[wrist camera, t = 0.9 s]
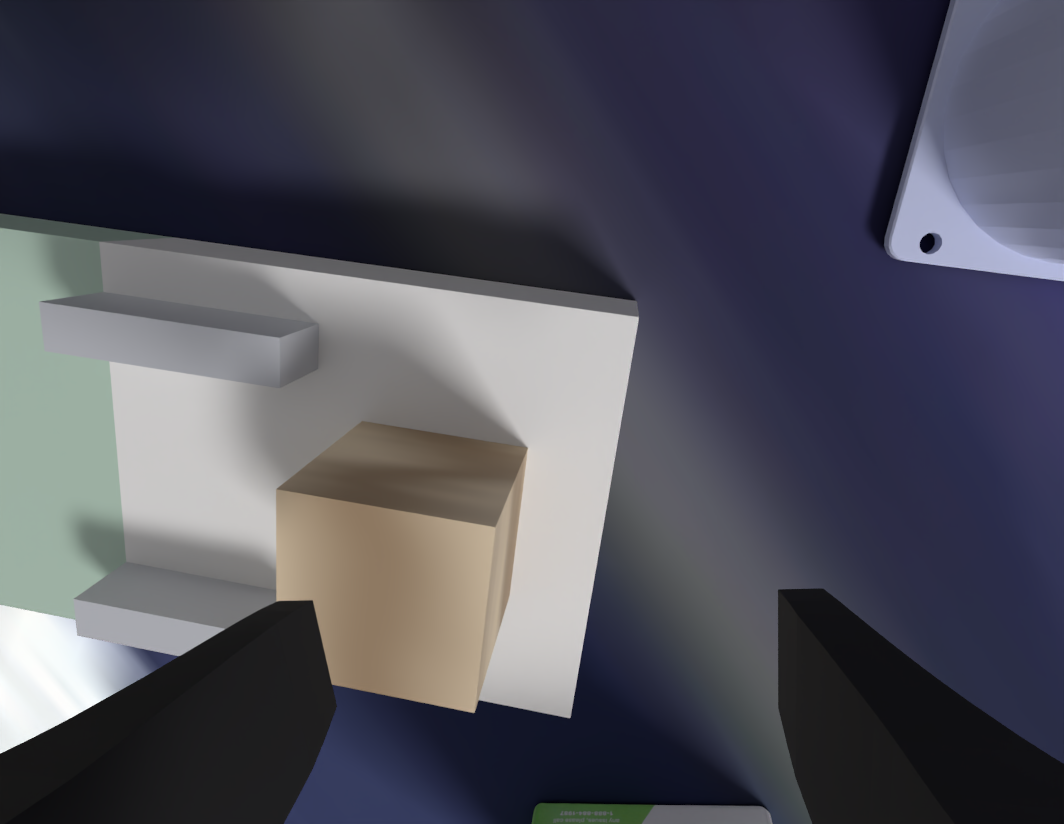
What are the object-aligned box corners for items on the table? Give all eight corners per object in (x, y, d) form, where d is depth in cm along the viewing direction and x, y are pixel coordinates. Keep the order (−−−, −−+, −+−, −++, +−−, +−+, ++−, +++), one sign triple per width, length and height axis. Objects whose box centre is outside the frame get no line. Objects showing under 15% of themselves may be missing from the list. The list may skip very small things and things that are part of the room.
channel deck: (636, 301, 18) (641, 331, 14) (577, 653, 22) (564, 773, 17) (-243, 180, 21) (-495, 170, 16) (-164, 512, 25) (-352, 583, 20)
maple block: (528, 447, 17) (495, 527, 13) (509, 596, 18) (474, 713, 14) (362, 421, 17) (276, 489, 13) (356, 567, 19) (276, 673, 14)
